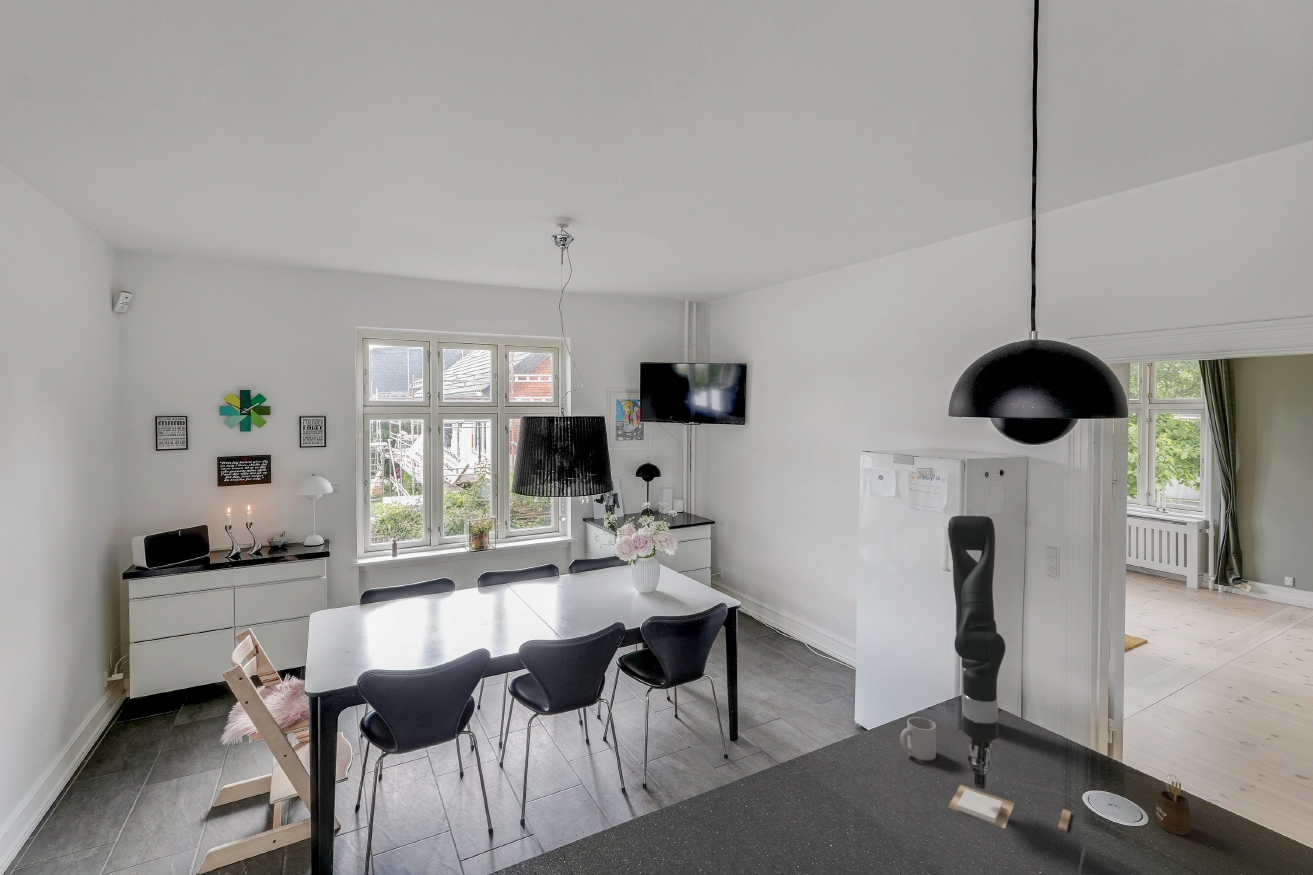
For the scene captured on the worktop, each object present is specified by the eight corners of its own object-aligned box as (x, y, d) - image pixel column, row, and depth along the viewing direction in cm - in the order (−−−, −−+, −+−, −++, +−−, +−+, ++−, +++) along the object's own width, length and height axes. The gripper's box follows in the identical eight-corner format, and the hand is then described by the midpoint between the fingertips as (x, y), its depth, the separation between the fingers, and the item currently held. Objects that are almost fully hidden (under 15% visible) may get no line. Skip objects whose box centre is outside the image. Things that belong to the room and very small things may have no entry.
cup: (941, 760, 164) (941, 728, 164) (908, 764, 163) (908, 731, 163) (925, 746, 172) (925, 715, 171) (893, 750, 170) (893, 719, 170)
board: (960, 786, 153) (960, 784, 153) (1015, 804, 145) (1015, 802, 145) (947, 809, 143) (947, 807, 143) (1004, 830, 136) (1004, 828, 136)
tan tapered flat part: (1055, 811, 142) (1055, 806, 142) (1078, 818, 140) (1078, 813, 140) (1047, 840, 132) (1047, 834, 132) (1071, 849, 130) (1071, 843, 130)
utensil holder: (1187, 823, 137) (1186, 771, 137) (1194, 840, 132) (1194, 785, 132) (1153, 815, 140) (1153, 764, 140) (1159, 831, 135) (1159, 778, 135)
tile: (965, 788, 148) (956, 804, 142) (1002, 801, 143) (995, 818, 137) (965, 794, 148) (956, 810, 142) (1002, 806, 143) (995, 824, 137)
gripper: (969, 699, 150) (969, 768, 151) (955, 719, 140) (955, 793, 141) (1003, 708, 146) (1004, 779, 146) (991, 729, 136) (991, 806, 136)
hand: (980, 786), depth 143 cm, fingers closed
